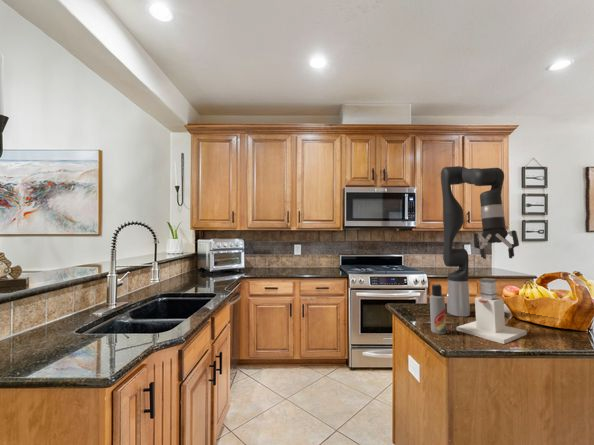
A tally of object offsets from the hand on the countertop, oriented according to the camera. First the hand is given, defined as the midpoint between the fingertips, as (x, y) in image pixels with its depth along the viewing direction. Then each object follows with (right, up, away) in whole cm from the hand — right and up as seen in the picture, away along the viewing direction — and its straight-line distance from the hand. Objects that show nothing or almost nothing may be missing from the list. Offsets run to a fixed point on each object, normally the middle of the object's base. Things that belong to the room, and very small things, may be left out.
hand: (497, 258), depth 111 cm
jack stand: (+3, -32, +8) cm, 33 cm away
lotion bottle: (-18, -33, +10) cm, 38 cm away
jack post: (+3, -30, +8) cm, 31 cm away
